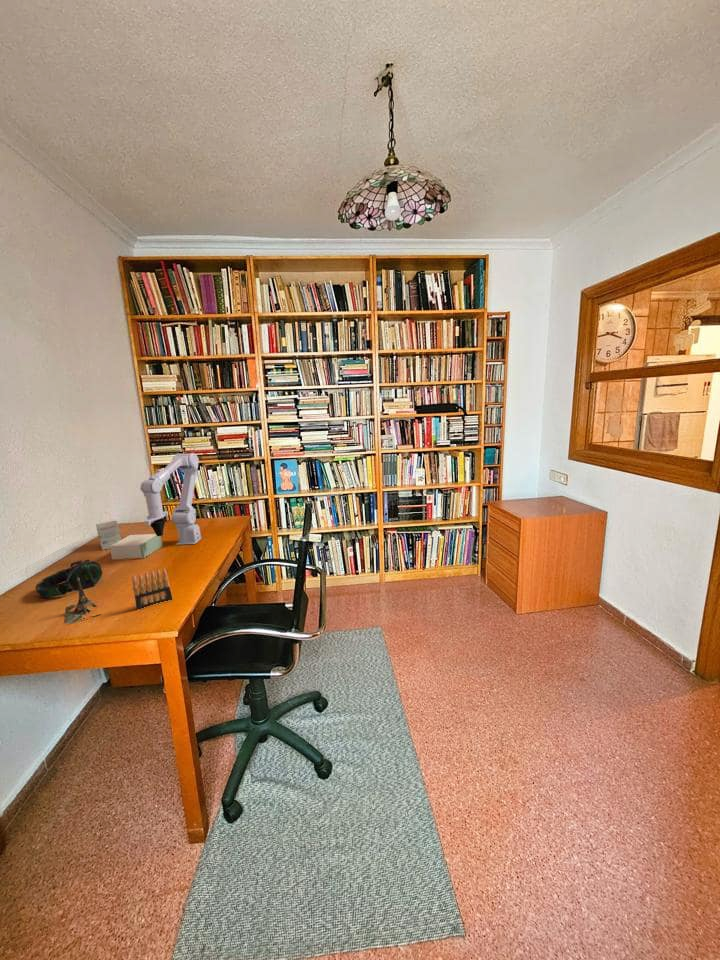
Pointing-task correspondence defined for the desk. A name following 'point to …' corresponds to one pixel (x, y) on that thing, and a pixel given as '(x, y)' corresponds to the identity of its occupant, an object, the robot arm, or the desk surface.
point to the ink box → (108, 533)
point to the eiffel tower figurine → (76, 615)
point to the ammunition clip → (151, 589)
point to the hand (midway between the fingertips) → (159, 535)
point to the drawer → (150, 546)
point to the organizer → (129, 546)
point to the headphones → (70, 579)
